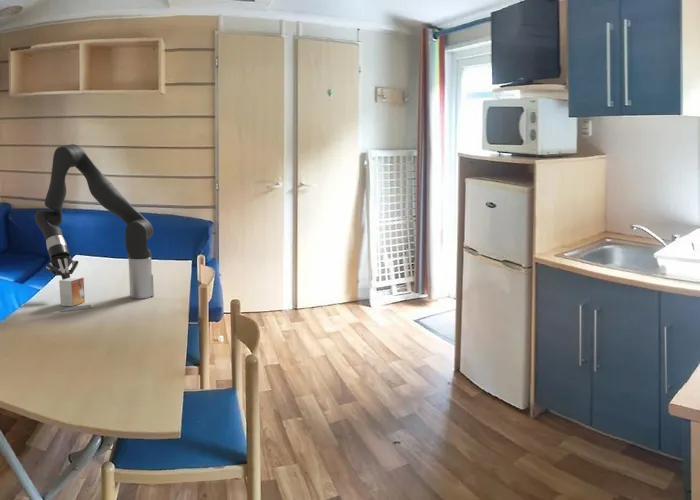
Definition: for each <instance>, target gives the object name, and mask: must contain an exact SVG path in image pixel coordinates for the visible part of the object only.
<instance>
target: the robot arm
mask: <svg viewBox="0 0 700 500" xmlns="http://www.w3.org/2000/svg"><path fill="white" fill-rule="evenodd" d="M51 167H52V168H51V175H50V182H49V187H48V190H47V193H46V196H45V199H44V206H45V207H46V208H48V209H50V210H45V209H40V210H37V211H36V212H35V214H34V221H35V223H36V225H37V227H38V228H39V230H40V231H41V233H42V234H43V236H44V239H45V242H46V243H45V244H46V248H47V252H48V255H49V259H50V261H49V263H47V264H46V266H45V269H46V270H47V271H49V272H51V274H53V275H54V276H56V277H57V276H58V277H59V276H60V277H61V280H64V279H67V278H70V277H71V276H70V275H72V274H74V272H75V270H76V268H77V267H78V266H79V261H78V260H73V258H72V257H71V254H70V252H69V251H70V250H69V248H68V244H67V242H66V240H65V238H64V235H63V230H62V229H61V228H60V225H61V224H62V223H63V205H64V202H65V199H66V196H67V185H66V177H67V173H68V171H69V169H71V168H74V167H75V168H76V169H77V170H78V171H79V172H80V173H81V174H82V175H83V176H84V178H85V180H86V182H87V186H88V190H89V192H90V194H91V196H92V197H93V198H94V199H95V200H96V201H97V203H99V205H101V206H102V207H103V208H104V209H106V210H107V211H109V212H110V213H112V214H113V215H116V217H118V218H120V219H121V220H122V221H123V222H124V223H125V224H126V226H125V230H124V239H125V240H124V241H125V250H126V252H127V255H128V256H127V258H128V277H129V280H128V281H129V297H130V298H132V299H148V298H151V296H152V297H154V296H155V293H154V292H155V291H154V290H155V289H154V274H153V273H152V272H153V269H152V250H150V249H149V248H148V241H147V240H149V239H150V238H151V237H152V236H153V235H154V227H153V225H152V223H151V222H150V221H149V220H148V219H146V218H145V217H144V216H143V215H142V214H141V213H140V212H139V211H138V210H137V209H135V207H134V206H132V204H131V203H130V202H129V201H128V200H127V199H126V198H125V197H124V196H123V195H122V193H121V192H120V191H119V190H118V189H117V187H115V186H114V185H113V184H112V182H111V181H110V180H109V179H107V177H106V176H105V175H104V174H103V172H102V171H100V169H99V168H98V167H97V166H96V165H95V164H94V162H93V160H91V158H90V157H89V156H88V154H87V152H86V151H85V150H84V149H83V148H82V147H81V146H79V145H77V144H73V143H71V144H65V145H62V146H59V147H57V148H56V149H55V150H54V152H53V156H52V165H51ZM71 265H72V266H71ZM70 266H71V267H70Z"/></svg>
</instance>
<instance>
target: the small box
mask: <svg viewBox="0 0 700 500" xmlns="http://www.w3.org/2000/svg"><path fill="white" fill-rule="evenodd" d="M84 279H85V278H84V276H83V277H82V276H81V277H80V276H70V278H67V279H64V280H62V279H60V280H59V281H58V283H59V298H60V299H59V300H60V306H63V307H74V306H78V305H79V304H83V303H85V302H86V299H85V298H86V297H85V282H84V281H85V280H84Z"/></svg>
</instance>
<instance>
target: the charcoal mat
mask: <svg viewBox="0 0 700 500" xmlns="http://www.w3.org/2000/svg"><path fill="white" fill-rule="evenodd" d="M90 309H93V307H92V305H91V304H86V305H85V304H84V305H75V306H64V307H60V312H61V313H62V312H72V311H79V310H82V311H83V310H90Z"/></svg>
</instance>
